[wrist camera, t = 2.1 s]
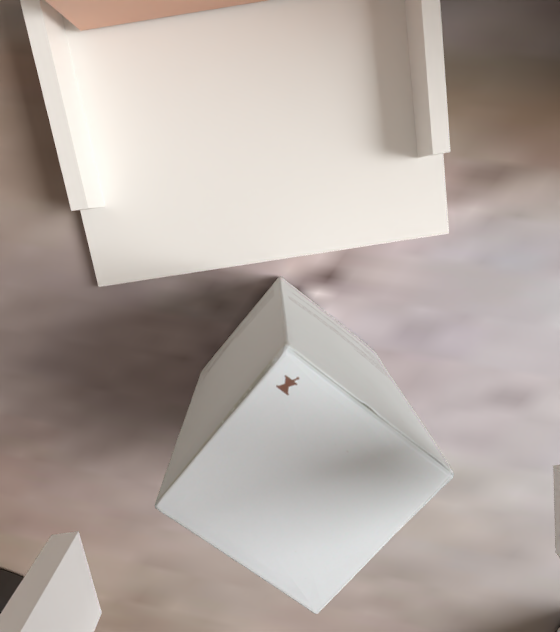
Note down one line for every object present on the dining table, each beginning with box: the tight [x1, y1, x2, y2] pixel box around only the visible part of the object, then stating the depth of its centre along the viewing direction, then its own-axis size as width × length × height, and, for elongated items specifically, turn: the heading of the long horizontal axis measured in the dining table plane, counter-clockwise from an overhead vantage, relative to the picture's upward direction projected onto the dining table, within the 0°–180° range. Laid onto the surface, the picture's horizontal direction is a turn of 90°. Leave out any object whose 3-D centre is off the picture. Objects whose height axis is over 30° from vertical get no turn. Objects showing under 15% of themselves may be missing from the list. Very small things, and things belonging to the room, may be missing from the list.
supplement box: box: [155, 277, 454, 614], centre depth 23 cm, size 7×7×13 cm
